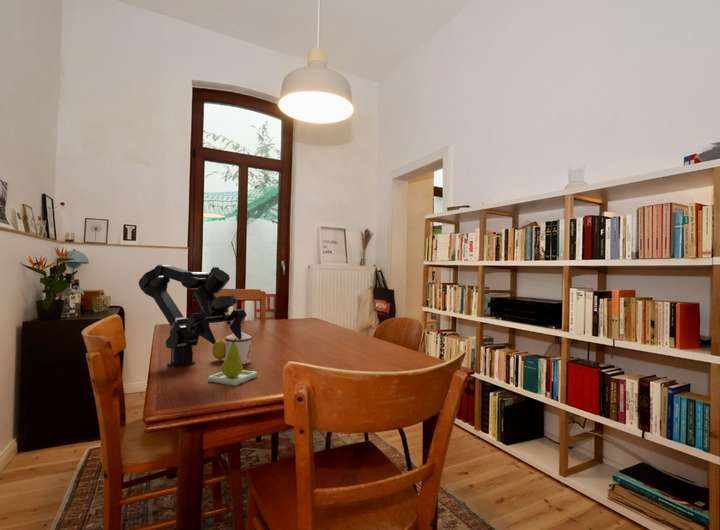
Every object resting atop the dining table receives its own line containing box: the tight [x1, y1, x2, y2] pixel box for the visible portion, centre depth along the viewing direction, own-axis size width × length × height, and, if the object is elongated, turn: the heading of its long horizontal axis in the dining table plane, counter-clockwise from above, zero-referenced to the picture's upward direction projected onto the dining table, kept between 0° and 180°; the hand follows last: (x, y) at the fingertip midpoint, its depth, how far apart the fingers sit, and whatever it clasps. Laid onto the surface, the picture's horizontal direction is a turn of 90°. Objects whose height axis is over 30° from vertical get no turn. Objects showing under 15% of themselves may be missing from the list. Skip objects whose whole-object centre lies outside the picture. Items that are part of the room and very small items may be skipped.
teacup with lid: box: [224, 329, 253, 365], centre depth 134 cm, size 12×9×12 cm
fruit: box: [221, 338, 244, 378], centre depth 113 cm, size 6×6×12 cm
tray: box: [207, 369, 258, 387], centre depth 113 cm, size 10×10×2 cm
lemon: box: [211, 338, 226, 361], centre depth 134 cm, size 6×6×8 cm
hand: (227, 341), depth 115 cm, fingers open, 9 cm apart
